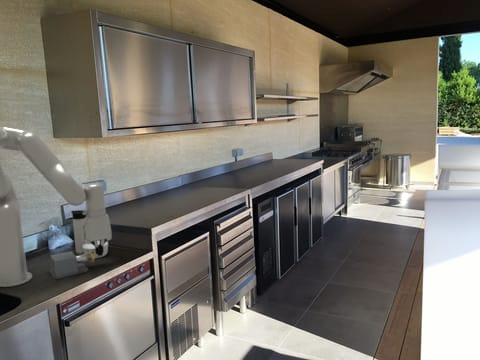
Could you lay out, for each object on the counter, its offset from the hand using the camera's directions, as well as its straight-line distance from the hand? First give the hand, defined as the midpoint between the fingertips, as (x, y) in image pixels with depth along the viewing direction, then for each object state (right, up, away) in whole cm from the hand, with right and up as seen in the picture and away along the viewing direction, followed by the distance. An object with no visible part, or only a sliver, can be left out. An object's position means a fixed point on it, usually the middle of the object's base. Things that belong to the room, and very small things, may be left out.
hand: (99, 254), depth 175 cm
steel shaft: (-7, -3, -4) cm, 9 cm away
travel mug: (-14, -2, +18) cm, 23 cm away
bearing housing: (-10, -6, -6) cm, 13 cm away
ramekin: (-6, -3, +13) cm, 15 cm away
